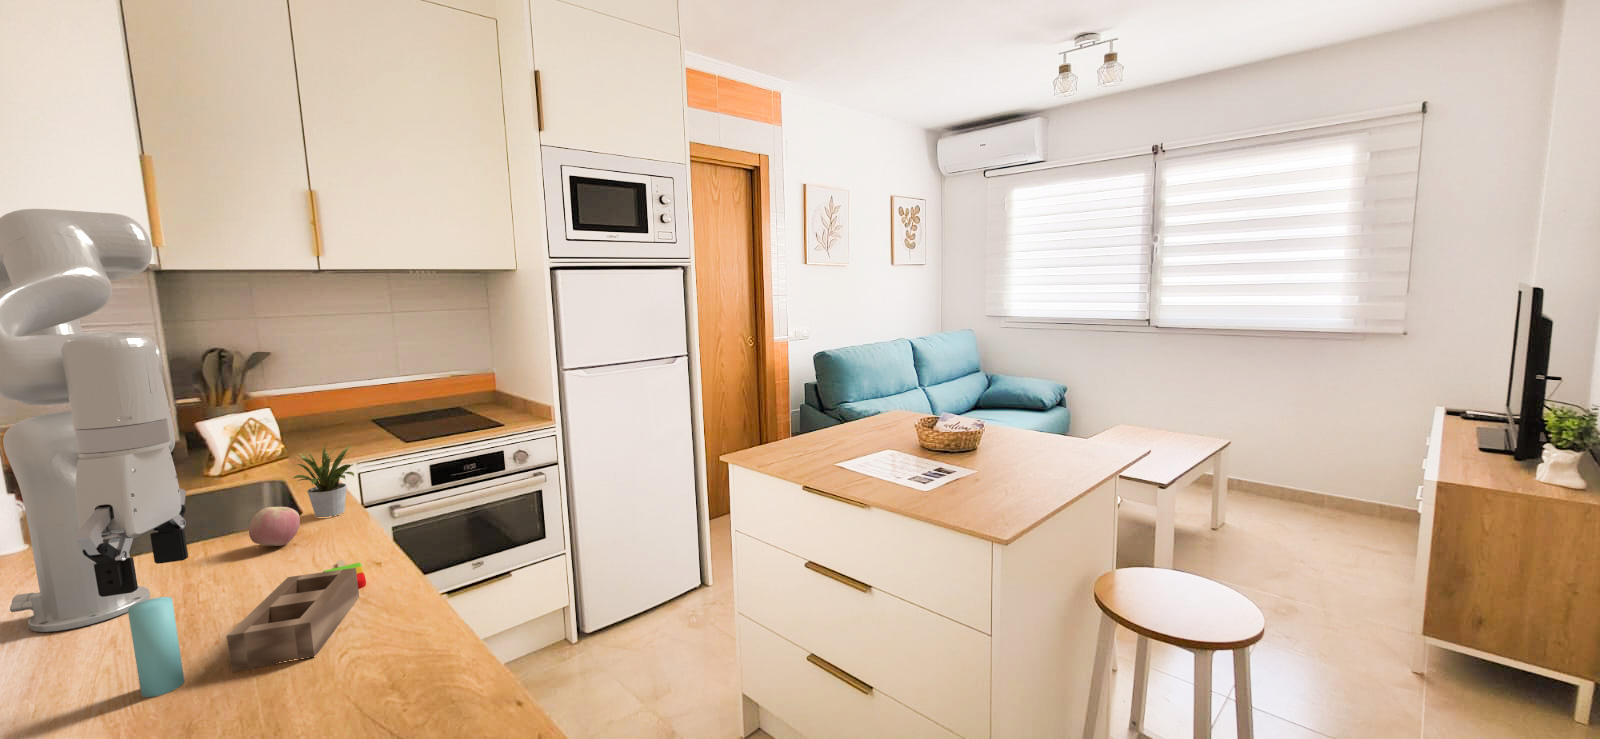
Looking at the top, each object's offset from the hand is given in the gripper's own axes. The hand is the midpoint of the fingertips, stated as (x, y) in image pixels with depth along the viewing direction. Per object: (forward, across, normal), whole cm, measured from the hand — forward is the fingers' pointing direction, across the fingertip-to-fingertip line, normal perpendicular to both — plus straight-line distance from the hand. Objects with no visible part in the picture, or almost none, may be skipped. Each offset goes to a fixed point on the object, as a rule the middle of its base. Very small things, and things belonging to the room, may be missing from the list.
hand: (147, 576), depth 76 cm
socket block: (+15, -11, +10) cm, 21 cm away
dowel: (+15, -1, 0) cm, 15 cm away
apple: (+14, -51, -8) cm, 53 cm away
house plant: (+14, -68, -6) cm, 69 cm away
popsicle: (+15, -30, +10) cm, 35 cm away
